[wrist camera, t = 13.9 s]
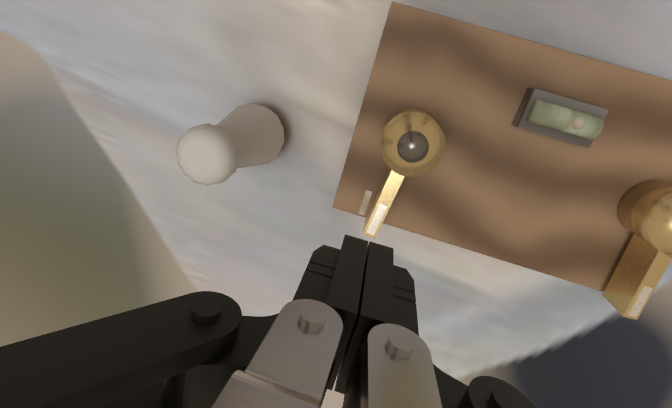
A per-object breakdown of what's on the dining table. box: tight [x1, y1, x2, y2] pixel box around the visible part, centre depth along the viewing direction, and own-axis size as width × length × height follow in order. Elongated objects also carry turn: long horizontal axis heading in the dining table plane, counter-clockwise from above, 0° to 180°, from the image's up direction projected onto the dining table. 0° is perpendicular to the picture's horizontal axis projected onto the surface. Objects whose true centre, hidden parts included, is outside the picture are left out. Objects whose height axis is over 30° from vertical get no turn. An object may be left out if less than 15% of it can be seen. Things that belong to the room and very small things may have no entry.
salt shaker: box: [176, 103, 284, 186], centre depth 32 cm, size 6×6×13 cm
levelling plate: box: [333, 2, 672, 292], centre depth 33 cm, size 19×29×5 cm, turn 74°
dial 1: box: [363, 108, 445, 239], centre depth 33 cm, size 12×5×6 cm, turn 159°
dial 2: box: [603, 181, 672, 320], centre depth 32 cm, size 12×5×6 cm, turn 169°
